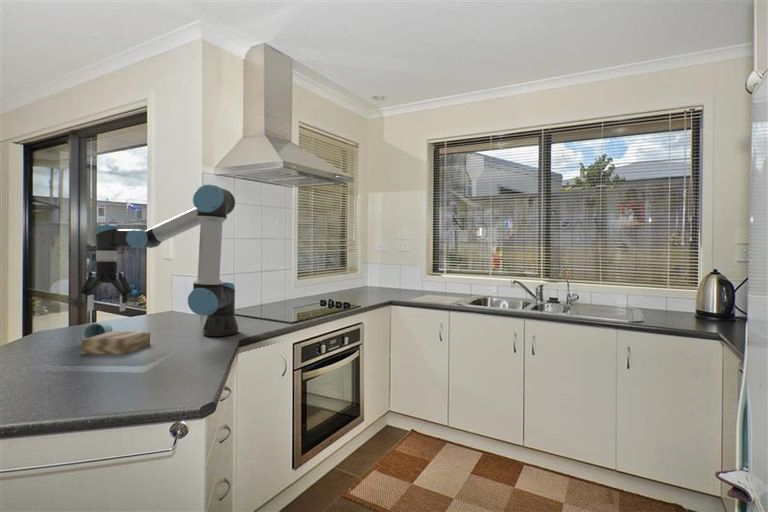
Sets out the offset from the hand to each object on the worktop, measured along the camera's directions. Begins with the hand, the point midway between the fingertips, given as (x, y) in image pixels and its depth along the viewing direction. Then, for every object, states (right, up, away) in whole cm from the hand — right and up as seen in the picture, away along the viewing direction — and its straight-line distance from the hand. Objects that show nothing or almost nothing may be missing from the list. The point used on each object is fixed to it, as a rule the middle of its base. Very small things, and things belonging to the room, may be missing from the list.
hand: (106, 310), depth 179 cm
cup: (0, -13, -1) cm, 13 cm away
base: (+16, -12, -18) cm, 27 cm away
